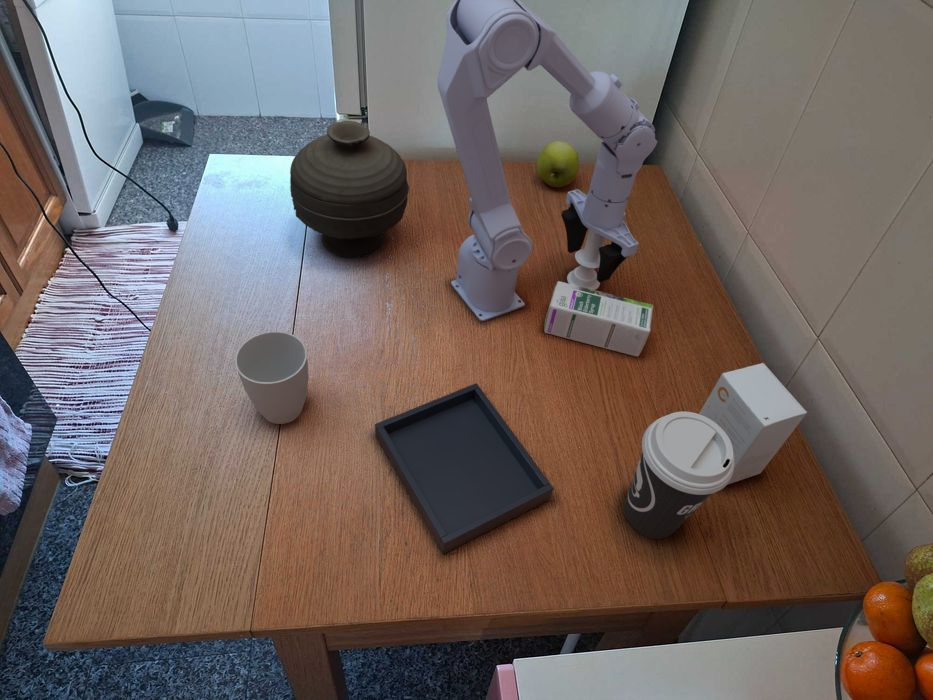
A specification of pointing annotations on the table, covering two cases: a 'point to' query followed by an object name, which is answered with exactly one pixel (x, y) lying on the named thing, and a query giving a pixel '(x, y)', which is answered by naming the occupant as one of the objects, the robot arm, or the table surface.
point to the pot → (349, 189)
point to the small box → (753, 416)
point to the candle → (587, 263)
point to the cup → (274, 374)
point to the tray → (462, 466)
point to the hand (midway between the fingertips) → (588, 264)
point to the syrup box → (598, 318)
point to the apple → (558, 164)
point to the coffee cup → (677, 472)
